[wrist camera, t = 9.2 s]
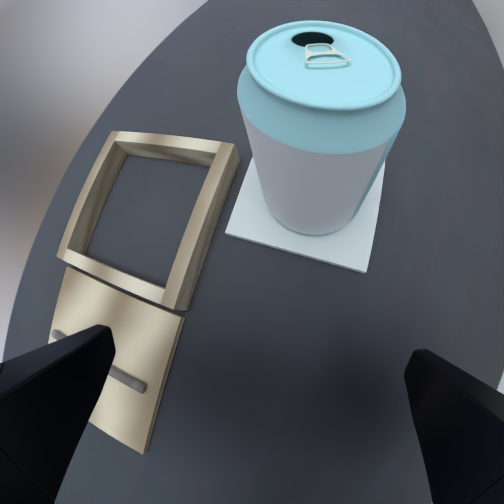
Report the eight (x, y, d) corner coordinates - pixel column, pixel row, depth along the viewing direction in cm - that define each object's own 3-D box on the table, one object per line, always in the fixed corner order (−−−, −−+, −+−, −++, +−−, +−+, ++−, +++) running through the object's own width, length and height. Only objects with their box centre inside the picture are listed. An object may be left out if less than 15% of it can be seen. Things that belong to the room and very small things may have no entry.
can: (243, 194, 20) (190, 66, 9) (306, 134, 21) (305, 1, 9) (318, 259, 18) (354, 163, 7) (378, 188, 19) (441, 66, 7)
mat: (384, 154, 20) (386, 150, 20) (363, 273, 18) (366, 272, 18) (266, 125, 22) (266, 121, 22) (226, 235, 20) (225, 232, 20)
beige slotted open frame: (240, 161, 22) (234, 144, 19) (147, 450, 17) (132, 462, 15) (124, 144, 24) (111, 130, 22) (47, 383, 20) (30, 385, 17)
